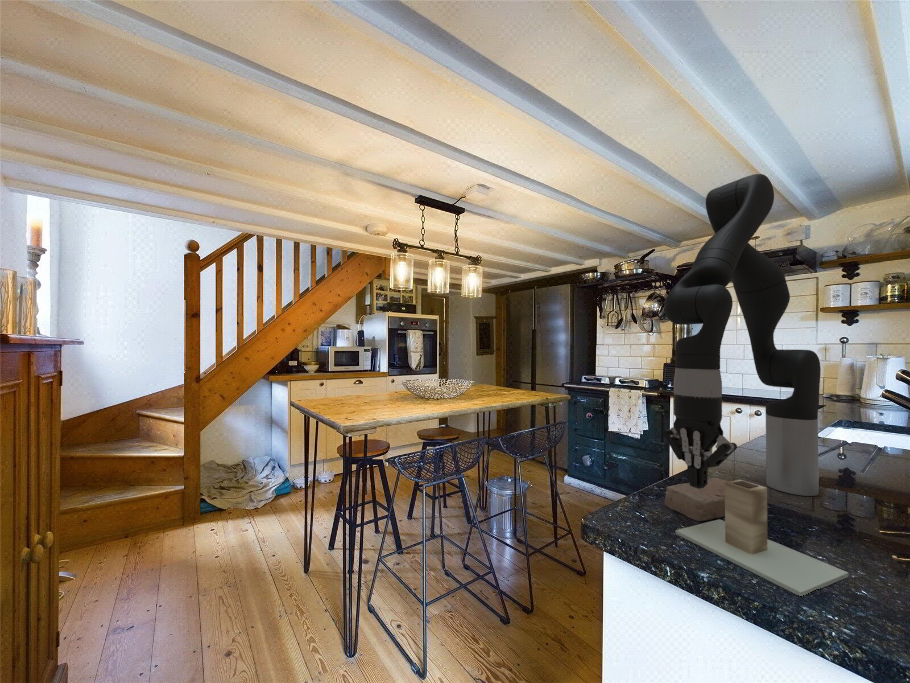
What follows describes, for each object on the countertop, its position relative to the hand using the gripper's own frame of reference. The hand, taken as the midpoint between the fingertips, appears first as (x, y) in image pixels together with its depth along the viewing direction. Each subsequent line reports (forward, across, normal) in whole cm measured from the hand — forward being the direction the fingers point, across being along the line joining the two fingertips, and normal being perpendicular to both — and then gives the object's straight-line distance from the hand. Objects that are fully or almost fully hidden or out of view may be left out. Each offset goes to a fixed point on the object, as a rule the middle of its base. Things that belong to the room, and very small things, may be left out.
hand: (697, 486), depth 68 cm
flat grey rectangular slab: (+8, -9, 0) cm, 12 cm away
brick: (+8, +5, -11) cm, 15 cm away
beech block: (+7, -8, 0) cm, 11 cm away
